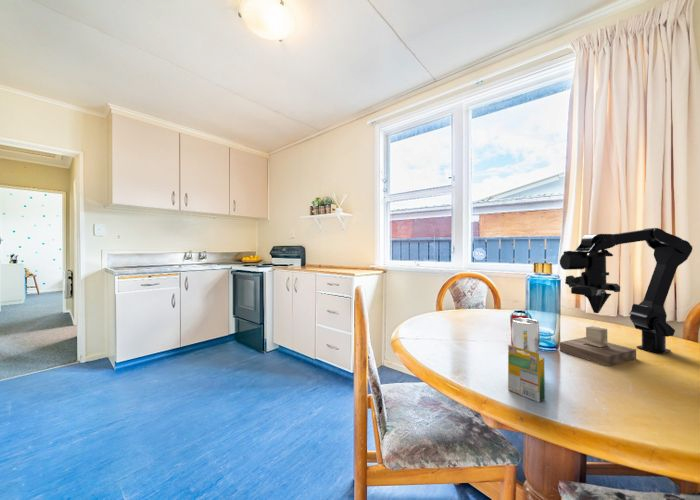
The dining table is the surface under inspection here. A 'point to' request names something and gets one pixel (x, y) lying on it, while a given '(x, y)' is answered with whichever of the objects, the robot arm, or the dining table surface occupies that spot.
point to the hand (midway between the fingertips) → (596, 312)
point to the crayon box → (526, 374)
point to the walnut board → (598, 352)
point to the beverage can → (516, 315)
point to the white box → (525, 334)
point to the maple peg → (596, 337)
